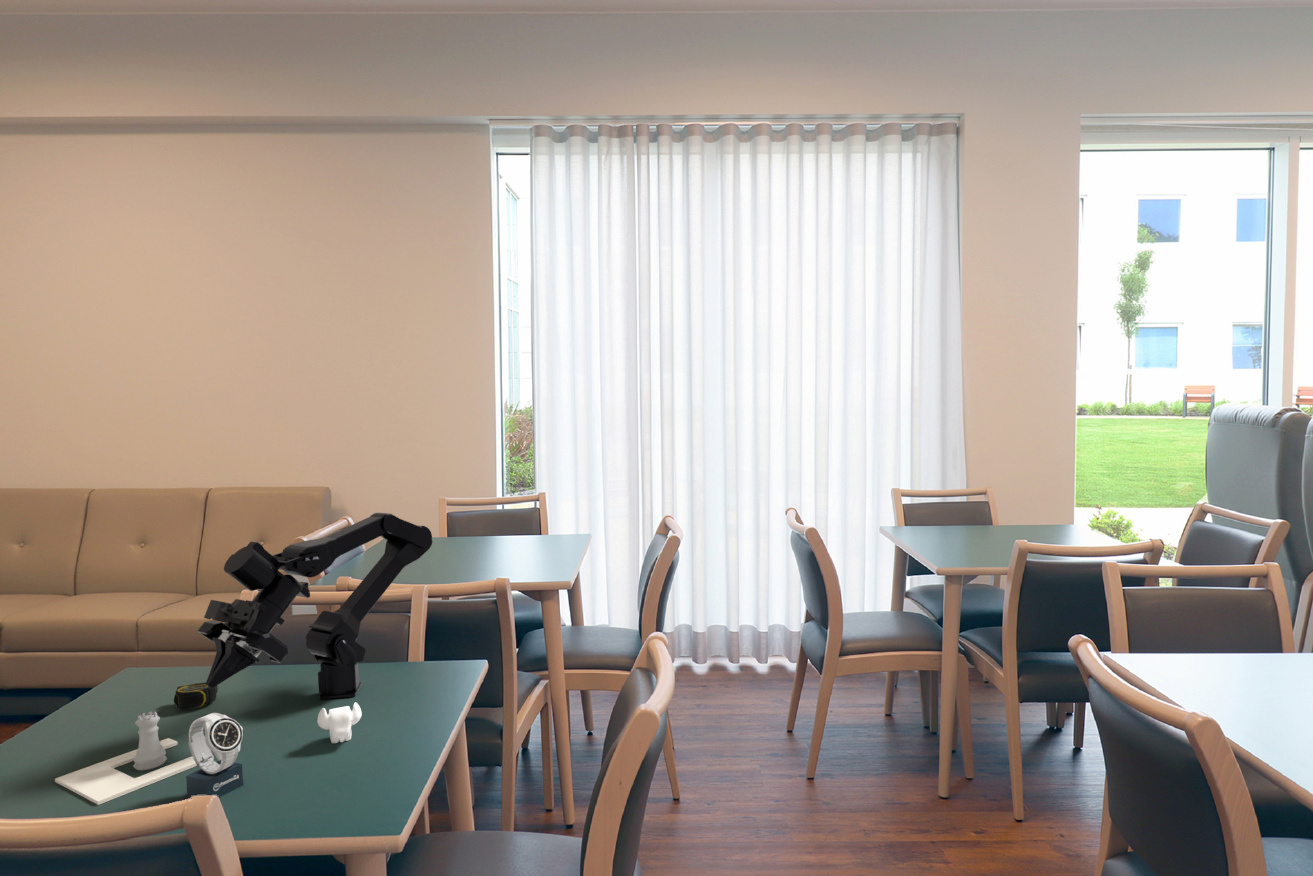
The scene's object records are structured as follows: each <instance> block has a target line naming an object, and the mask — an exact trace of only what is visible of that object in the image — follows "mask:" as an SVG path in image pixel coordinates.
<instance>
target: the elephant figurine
mask: <svg viewBox="0 0 1313 876" xmlns="http://www.w3.org/2000/svg"><path fill="white" fill-rule="evenodd" d="M352 704H353V705H352V709H351V707H350V706H349V705H346V706H345V705H344V706H342V707H341V706H340V707H334V708H330V709H329V710H328V713H327V710H326V708H325V707H322V708H321V709H320V711H319V713H318V714H317V725H318V726H319V727H320V728H321V729H322V730H325V731H326V730H329V739H330V742H331V744H337V743H339V742H340V743H343V742H348V741H350V740H352V733H353V732H352V726H354V725H356V724H357V723H358V722H359V721H360V720H361V718H362V714H363V713H362V709H361V706H360V705H359V703H358V702H354V703H352Z"/></svg>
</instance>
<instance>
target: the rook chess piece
mask: <svg viewBox="0 0 1313 876" xmlns="http://www.w3.org/2000/svg"><path fill="white" fill-rule="evenodd" d="M160 719H161V718H160V716H159V715H158V713H157V711H148V712H147V715H146V712H143V713H141V714H139V715H137V720H136V721H135V722H134V724H135V725H136V727H138V731H137V734H138V737H139V738H138V739H139V740H138V747H137V749H138V751H137V752H136V753H137V754H136V755H135V757H134V759H133V760H134V761H133V762H134V764H133V769H135V770H137V771H138V772H140V771H141V772H144V771H150V770H155V769H156V768H157V769H158V768H159V767H161V766H162V765H165V763H166V761H167V759H168V757H167V756H166V754H167V751H166V749H163V748H162V745H160V742H159V741H160V738H159V734H158V733H159V731H158V730H159V729H160V727H159V726H158V722H159V721H160Z"/></svg>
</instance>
